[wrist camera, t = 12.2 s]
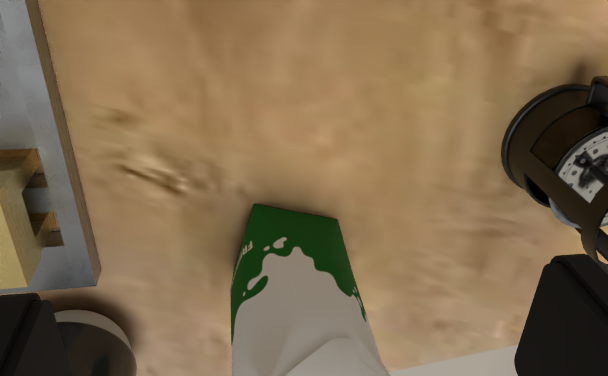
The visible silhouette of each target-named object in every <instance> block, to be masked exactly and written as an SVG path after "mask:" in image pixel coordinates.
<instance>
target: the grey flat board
mask: <svg viewBox="0 0 608 376" xmlns="http://www.w3.org/2000/svg"><path fill="white" fill-rule="evenodd" d="M30 148H38V151H39V155H40V158H41V162H42V166H43V169H44V173H45V174H37V175H33V176H32V177H31V179H30V180H29V182H28V184H27V185H26V187H25V188H24V190H23V191H22V193H21V194H22V197H23V200H24V204H25V207H26V210H27V214H29V213H44V212H55V213H56V216H57V220H58V224H59V227H60V231H57V232H51V234H50V236H49V238H48V240H47V242H46V244H45V246H44V248H43V250H42V252H41V254H40V256H41V260H40V262H39V264H38V266H37V268H36V271H35V273H34V275H33V277H32V279H31V281H30V283H29V285H28V287H22V288H9V289H0V294H4V293H17V292H29V291H42V290H54V289H67V288H79V287H92V286H96V285H97V282H98V279H99V276H100V272H101V266H100V262H99V258H98V254H97V250H96V246H95V241H94V237H93V233H92V229H91V225H90V220H89V216H88V212H87V208H86V204H85V199H84V195H83V191H82V187H81V183H80V179H79V174H78V170H77V166H76V162H75V158H74V153H73V149H72V145H71V141H70V137H69V132H68V128H67V124H66V120H65V116H64V112H63V107H62V103H61V99H60V95H59V91H58V86H57V82H56V78H55V74H54V70H53V65H52V61H51V57H50V53H49V49H48V45H47V40H46V36H45V32H44V28H43V24H42V19H41V15H40V11H39V7H38V3H37V0H0V150H10V149H30Z"/></svg>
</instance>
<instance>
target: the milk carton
mask: <svg viewBox="0 0 608 376" xmlns="http://www.w3.org/2000/svg"><path fill="white" fill-rule="evenodd" d="M231 344H232V376H390V374H389V372H388V371H387V369H386V368H385V366H384V364H383V363H382V361H381V358H380V355H379V352H378V349H377V346H376V343H375V340H374V337H373V334H372V331H371V328H370V325H369V322H368V319H367V316H366V312H365V309H364V306H363V303H362V300H361V297H360V294H359V291H358V288H357V285H356V282H355V279H354V276H353V272H352V269H351V265H350V262H349V258H348V255H347V251H346V248H345V244H344V241H343V237H342V234H341V230H340V226H339V223H338V220H336V219H331V218H326V217H320V216H315V215H310V214H305V213H299V212H294V211H289V210H283V209H278V208H273V207H268V206H262V205H257V204H254V206H253V209H252V213H251V216H250V219H249V222H248V226H247V229H246V232H245V236H244V239H243V242H242V245H241V249H240V252H239V255H238V259H237V262H236V265H235V269H234V272H233V279H232V285H231Z"/></svg>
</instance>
